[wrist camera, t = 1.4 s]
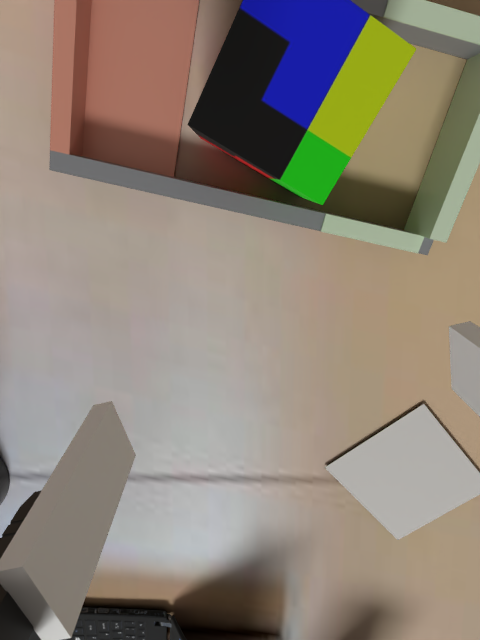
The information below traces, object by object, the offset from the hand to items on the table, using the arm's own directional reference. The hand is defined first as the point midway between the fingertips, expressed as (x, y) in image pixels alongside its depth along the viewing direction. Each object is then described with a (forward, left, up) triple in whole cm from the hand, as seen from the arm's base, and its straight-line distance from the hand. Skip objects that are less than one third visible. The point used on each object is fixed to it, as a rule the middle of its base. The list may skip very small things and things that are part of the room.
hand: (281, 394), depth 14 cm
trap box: (-2, +13, -24) cm, 27 cm away
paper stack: (+31, -21, -24) cm, 45 cm away
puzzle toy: (-1, +13, -24) cm, 27 cm away
